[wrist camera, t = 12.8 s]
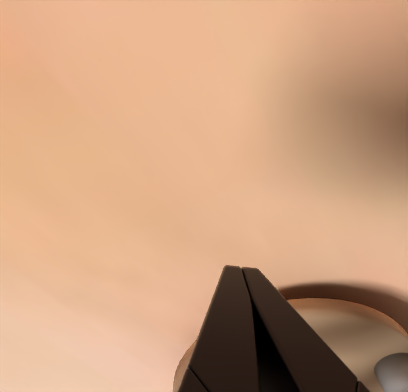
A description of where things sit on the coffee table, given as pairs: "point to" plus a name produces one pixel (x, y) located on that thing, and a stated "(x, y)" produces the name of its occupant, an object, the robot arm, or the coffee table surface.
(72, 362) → the coffee table surface
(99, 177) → the coffee table surface
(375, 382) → the turntable
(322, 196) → the coffee table surface
